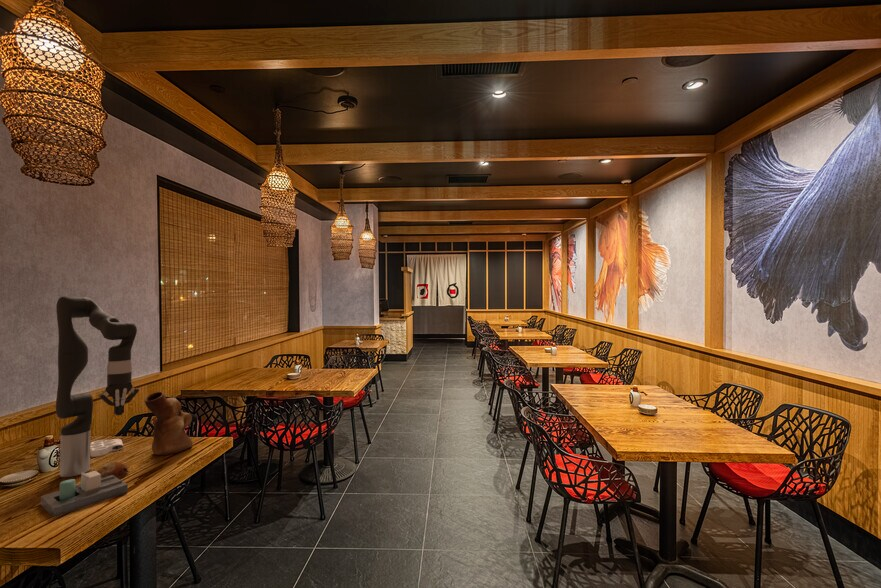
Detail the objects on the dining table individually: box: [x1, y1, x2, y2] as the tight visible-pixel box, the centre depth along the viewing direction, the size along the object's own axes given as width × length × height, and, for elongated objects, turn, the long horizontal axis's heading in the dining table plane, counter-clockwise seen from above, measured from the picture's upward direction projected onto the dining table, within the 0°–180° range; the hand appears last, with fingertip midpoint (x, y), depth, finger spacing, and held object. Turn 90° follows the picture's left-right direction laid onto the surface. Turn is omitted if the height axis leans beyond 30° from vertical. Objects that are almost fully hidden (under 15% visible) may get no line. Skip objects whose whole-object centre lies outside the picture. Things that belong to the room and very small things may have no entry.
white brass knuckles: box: [90, 438, 124, 458], centre depth 187 cm, size 3×18×15 cm
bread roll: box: [97, 461, 129, 479], centre depth 157 cm, size 10×10×8 cm
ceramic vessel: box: [143, 391, 194, 456], centre depth 183 cm, size 16×22×30 cm
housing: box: [40, 475, 129, 519], centre depth 139 cm, size 16×20×4 cm
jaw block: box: [80, 470, 101, 491], centre depth 140 cm, size 6×4×6 cm, turn 57°
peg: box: [59, 478, 76, 501], centre depth 135 cm, size 4×4×8 cm
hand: (118, 414), depth 152 cm, fingers closed
